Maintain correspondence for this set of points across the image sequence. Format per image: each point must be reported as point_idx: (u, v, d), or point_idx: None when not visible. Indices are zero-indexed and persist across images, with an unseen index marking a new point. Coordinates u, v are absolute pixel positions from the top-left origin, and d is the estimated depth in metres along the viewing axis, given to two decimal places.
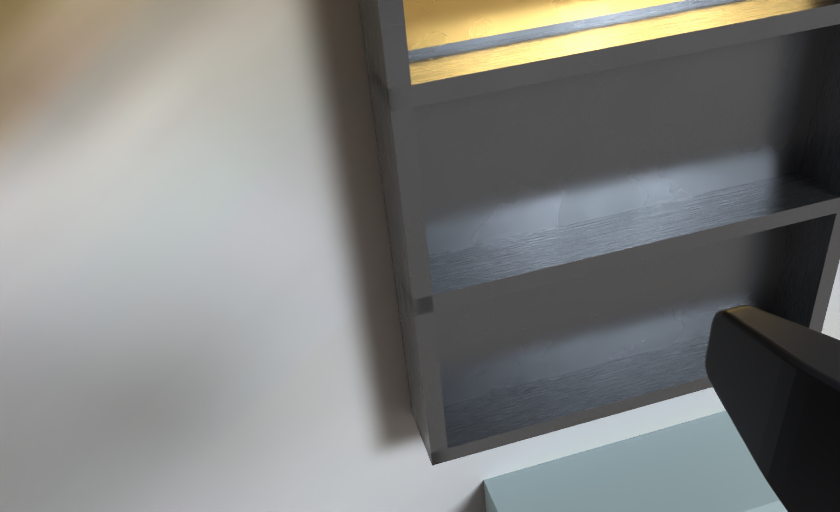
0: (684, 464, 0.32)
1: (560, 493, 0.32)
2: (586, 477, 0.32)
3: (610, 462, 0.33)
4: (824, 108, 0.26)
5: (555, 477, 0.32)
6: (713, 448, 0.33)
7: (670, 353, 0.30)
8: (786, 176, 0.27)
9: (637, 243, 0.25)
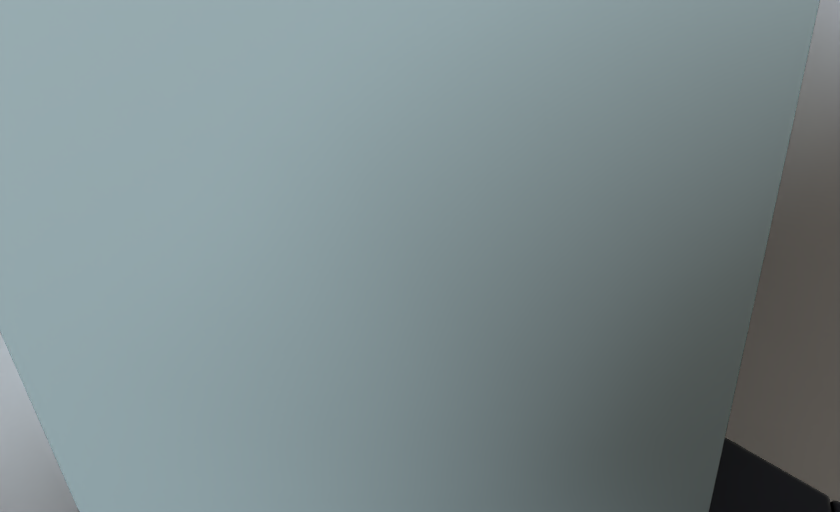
0: None
1: None
2: None
3: None
4: None
5: None
6: None
7: None
8: None
9: None
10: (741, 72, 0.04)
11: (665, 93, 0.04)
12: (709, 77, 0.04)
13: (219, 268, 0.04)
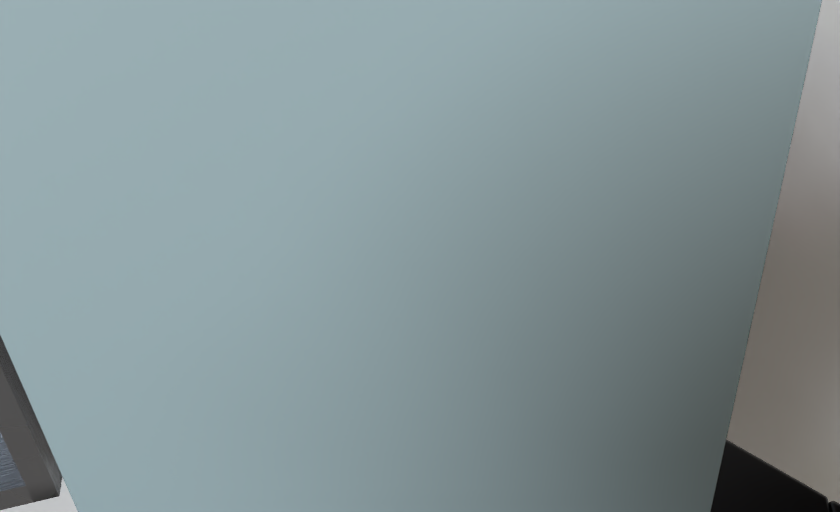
0: None
1: None
2: None
3: None
4: None
5: None
6: None
7: None
8: None
9: None
10: (744, 70, 0.04)
11: (666, 92, 0.04)
12: (711, 72, 0.04)
13: (220, 266, 0.04)
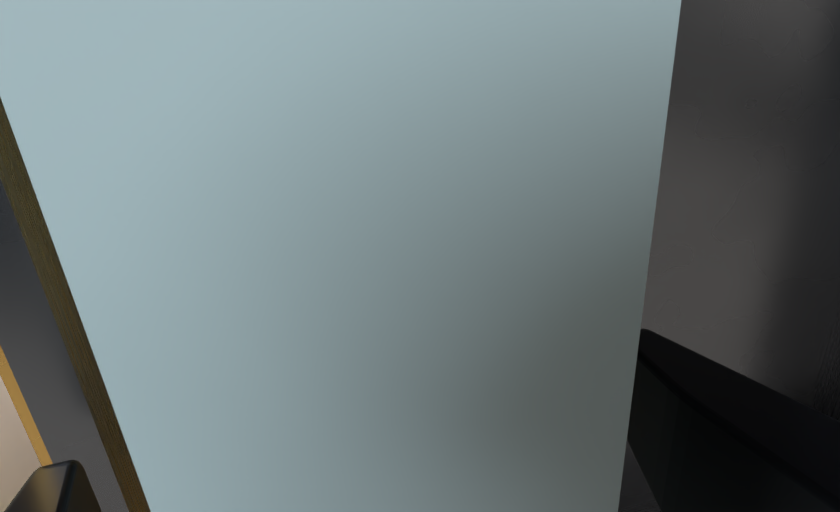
0: None
1: None
2: None
3: None
4: None
5: None
6: None
7: None
8: None
9: None
10: None
11: (565, 12, 0.05)
12: None
13: (211, 148, 0.05)
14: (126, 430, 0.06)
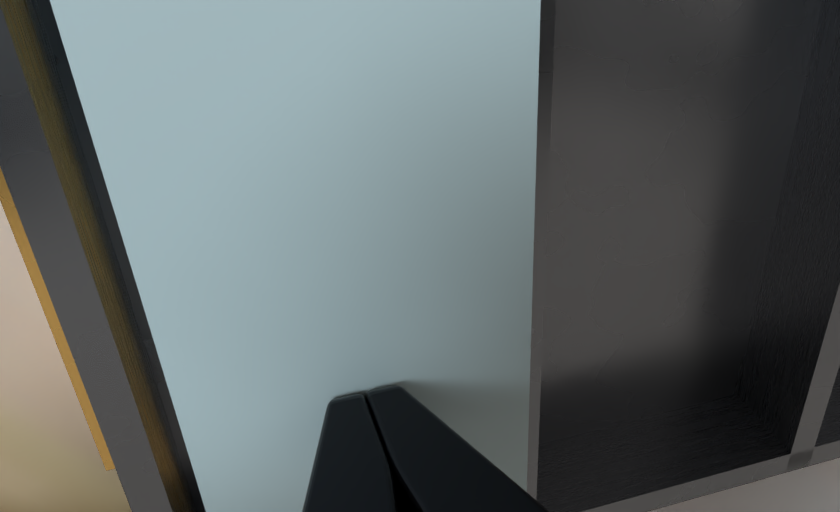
0: None
1: None
2: None
3: None
4: None
5: None
6: None
7: None
8: None
9: None
10: None
11: None
12: None
13: (195, 38, 0.06)
14: (133, 268, 0.07)
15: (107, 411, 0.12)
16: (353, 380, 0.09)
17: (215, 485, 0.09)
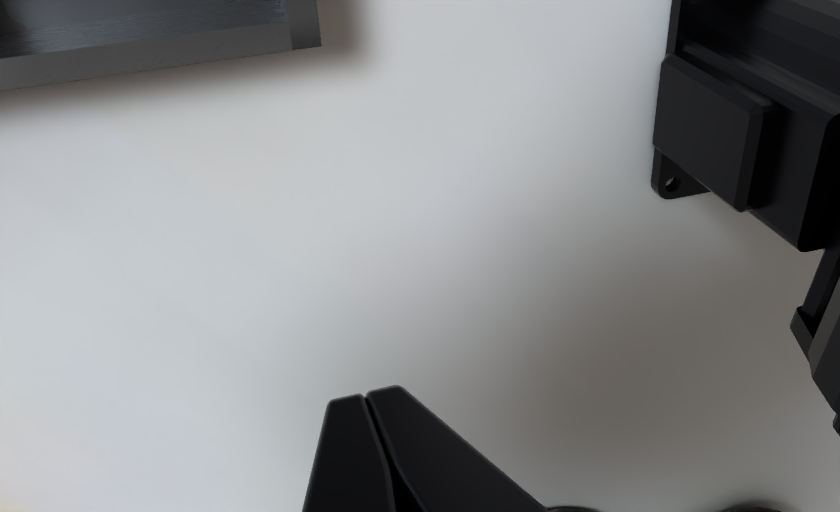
0: None
1: None
2: None
3: None
4: None
5: None
6: None
7: None
8: None
9: None
10: None
11: None
12: None
13: None
14: None
15: None
16: None
17: None
